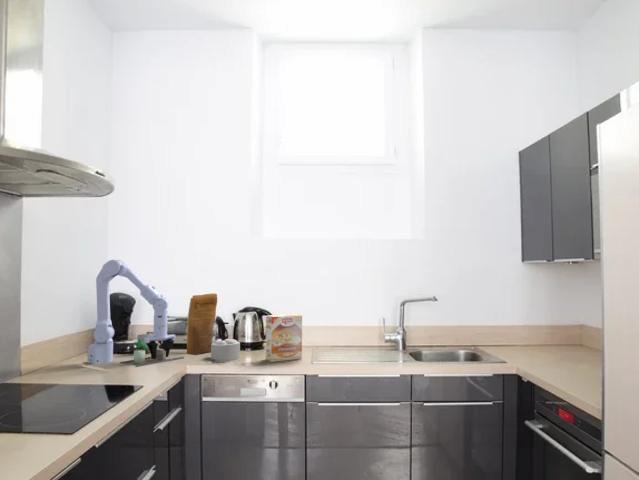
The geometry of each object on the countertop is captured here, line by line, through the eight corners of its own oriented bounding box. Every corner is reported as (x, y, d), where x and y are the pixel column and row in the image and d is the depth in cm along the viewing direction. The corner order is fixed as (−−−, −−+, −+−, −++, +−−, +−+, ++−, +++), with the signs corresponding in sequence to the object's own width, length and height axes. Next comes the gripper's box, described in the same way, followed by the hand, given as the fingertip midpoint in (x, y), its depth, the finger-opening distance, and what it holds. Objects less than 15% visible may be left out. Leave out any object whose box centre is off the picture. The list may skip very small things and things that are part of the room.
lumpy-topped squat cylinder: (243, 358, 223) (243, 338, 224) (222, 363, 212) (222, 342, 213) (226, 356, 229) (226, 337, 229) (205, 360, 218) (205, 340, 218)
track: (137, 369, 199) (137, 365, 199) (120, 365, 206) (120, 361, 206) (184, 360, 218) (184, 356, 218) (166, 357, 225) (166, 354, 225)
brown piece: (137, 367, 201) (137, 355, 201) (124, 365, 206) (124, 353, 206) (168, 362, 213) (168, 350, 213) (155, 359, 218) (155, 348, 218)
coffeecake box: (271, 362, 214) (271, 316, 215) (265, 359, 221) (265, 315, 222) (302, 359, 221) (302, 314, 222) (295, 356, 228) (295, 313, 229)
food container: (150, 357, 226) (150, 335, 226) (136, 357, 226) (137, 335, 226) (159, 352, 238) (159, 331, 239) (146, 352, 238) (147, 331, 239)
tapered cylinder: (137, 364, 204) (138, 352, 204) (131, 363, 206) (131, 351, 207) (147, 362, 207) (147, 350, 207) (141, 361, 210) (141, 349, 210)
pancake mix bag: (221, 350, 243) (221, 293, 244) (190, 356, 227) (191, 295, 229) (211, 349, 247) (212, 292, 248) (180, 355, 231) (181, 294, 233)
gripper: (151, 328, 207) (151, 361, 207) (180, 325, 219) (179, 356, 218) (141, 327, 212) (140, 359, 211) (170, 324, 223) (169, 354, 222)
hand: (159, 357), depth 215 cm, fingers open, 6 cm apart
